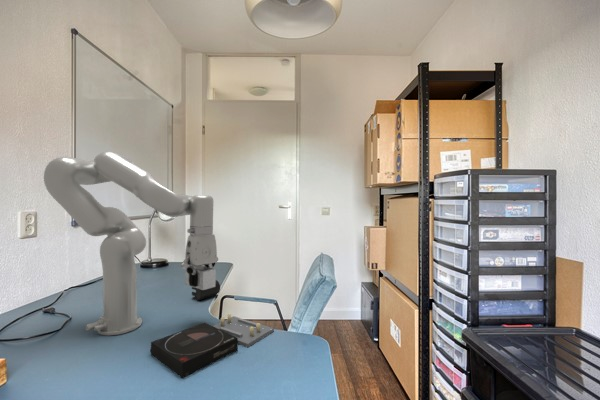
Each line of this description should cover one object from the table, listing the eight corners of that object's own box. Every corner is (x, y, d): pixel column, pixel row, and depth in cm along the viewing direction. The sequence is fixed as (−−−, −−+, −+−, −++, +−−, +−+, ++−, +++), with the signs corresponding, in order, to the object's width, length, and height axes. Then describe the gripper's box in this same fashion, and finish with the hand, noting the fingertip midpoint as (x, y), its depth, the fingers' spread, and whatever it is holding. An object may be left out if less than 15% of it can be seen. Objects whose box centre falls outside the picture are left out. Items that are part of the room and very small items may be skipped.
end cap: (201, 302, 120) (201, 286, 120) (190, 299, 124) (190, 283, 124) (220, 296, 128) (220, 280, 128) (210, 293, 132) (210, 278, 132)
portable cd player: (203, 334, 93) (203, 321, 93) (237, 352, 82) (237, 337, 82) (150, 355, 80) (150, 341, 80) (182, 380, 69) (182, 363, 69)
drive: (202, 290, 95) (203, 271, 95) (185, 284, 101) (185, 266, 101) (215, 286, 99) (215, 268, 99) (197, 281, 105) (198, 264, 105)
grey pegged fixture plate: (247, 347, 83) (247, 335, 83) (206, 332, 93) (206, 321, 93) (273, 331, 93) (273, 320, 93) (233, 319, 103) (233, 309, 103)
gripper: (186, 234, 91) (185, 292, 91) (227, 230, 105) (226, 280, 105) (172, 232, 95) (171, 287, 95) (213, 228, 109) (212, 277, 109)
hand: (200, 283), depth 100 cm, fingers closed on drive, 5 cm apart
